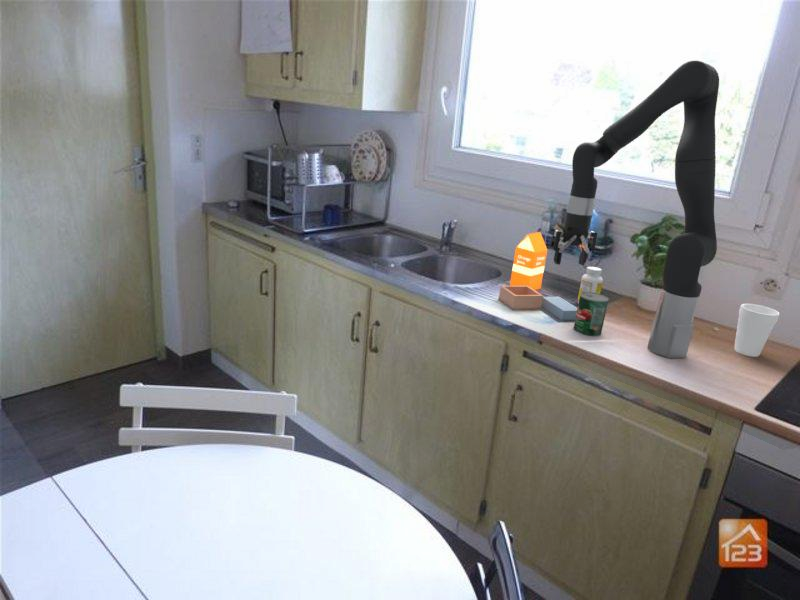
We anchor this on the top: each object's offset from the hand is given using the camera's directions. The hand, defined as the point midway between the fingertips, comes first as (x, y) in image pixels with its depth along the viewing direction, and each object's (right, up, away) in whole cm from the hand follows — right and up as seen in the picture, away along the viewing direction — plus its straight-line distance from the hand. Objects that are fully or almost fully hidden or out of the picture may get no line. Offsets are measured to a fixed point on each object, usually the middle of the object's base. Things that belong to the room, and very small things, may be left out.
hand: (569, 264), depth 174 cm
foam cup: (+47, -26, -12) cm, 55 cm away
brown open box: (-14, -13, +9) cm, 21 cm away
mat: (-2, -15, +5) cm, 16 cm away
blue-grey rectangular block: (-2, -15, +5) cm, 16 cm away
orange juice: (-7, -7, +29) cm, 31 cm away
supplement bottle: (+11, -13, +16) cm, 23 cm away
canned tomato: (+3, -21, -8) cm, 22 cm away
